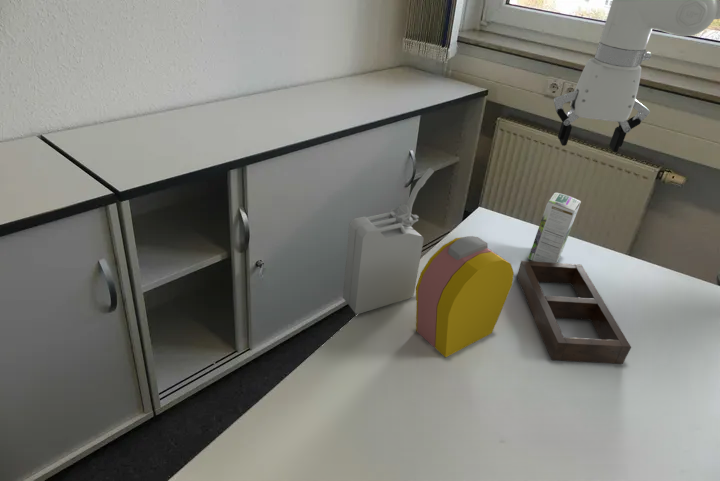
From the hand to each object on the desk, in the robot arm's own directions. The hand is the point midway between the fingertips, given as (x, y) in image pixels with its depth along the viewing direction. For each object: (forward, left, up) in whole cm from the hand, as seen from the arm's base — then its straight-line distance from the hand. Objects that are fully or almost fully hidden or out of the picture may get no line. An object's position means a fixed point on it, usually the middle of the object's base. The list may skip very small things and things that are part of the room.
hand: (587, 146), depth 104 cm
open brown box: (+15, +14, -26) cm, 33 cm away
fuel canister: (+40, -10, -26) cm, 49 cm away
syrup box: (+2, 0, -26) cm, 26 cm away
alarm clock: (+36, +4, -26) cm, 45 cm away
